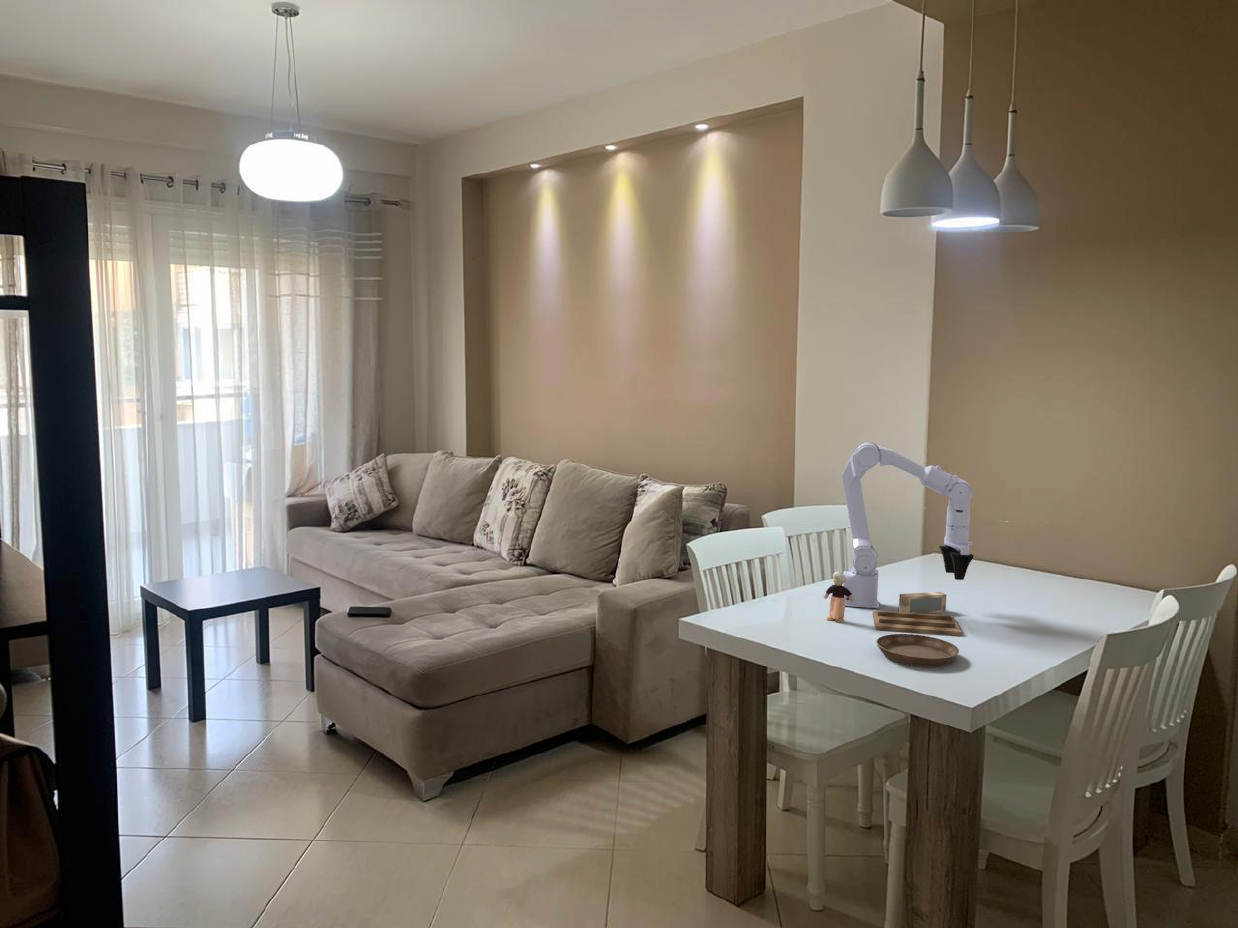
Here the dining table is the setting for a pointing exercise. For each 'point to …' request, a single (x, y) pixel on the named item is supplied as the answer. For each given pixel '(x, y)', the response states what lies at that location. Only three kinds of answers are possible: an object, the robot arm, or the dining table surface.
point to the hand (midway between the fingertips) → (954, 576)
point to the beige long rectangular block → (922, 602)
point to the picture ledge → (916, 623)
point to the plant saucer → (917, 650)
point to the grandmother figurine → (837, 598)
